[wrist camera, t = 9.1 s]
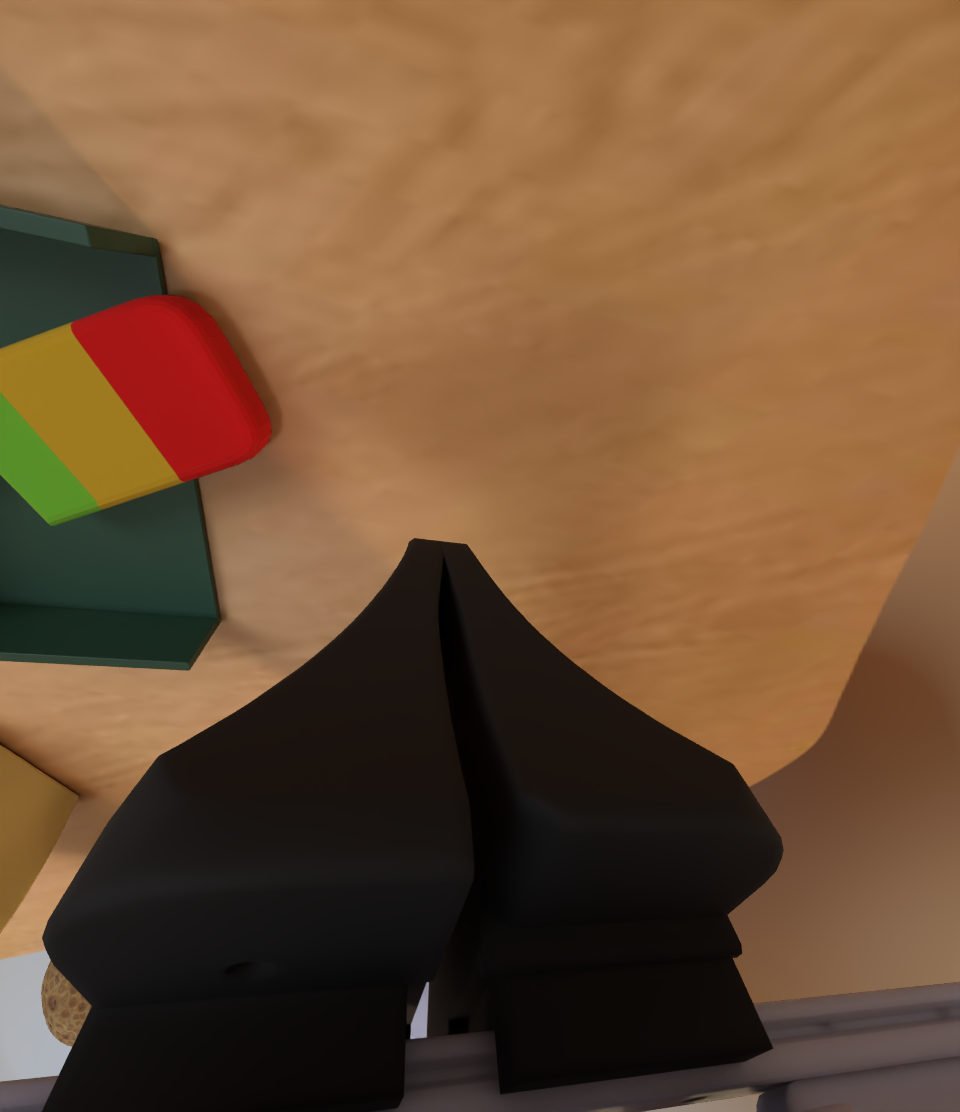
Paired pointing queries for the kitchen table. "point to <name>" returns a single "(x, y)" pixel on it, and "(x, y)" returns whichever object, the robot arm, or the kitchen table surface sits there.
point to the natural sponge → (63, 1006)
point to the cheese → (27, 826)
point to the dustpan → (110, 534)
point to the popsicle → (123, 407)
